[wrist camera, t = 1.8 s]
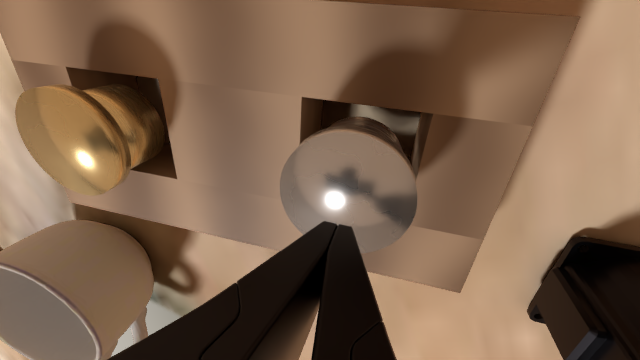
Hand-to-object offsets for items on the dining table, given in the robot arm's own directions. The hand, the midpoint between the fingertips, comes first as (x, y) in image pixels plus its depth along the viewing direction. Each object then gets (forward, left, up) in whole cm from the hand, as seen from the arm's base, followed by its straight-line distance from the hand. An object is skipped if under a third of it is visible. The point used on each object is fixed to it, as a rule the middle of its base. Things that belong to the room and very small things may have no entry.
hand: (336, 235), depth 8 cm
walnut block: (+6, 0, -9) cm, 11 cm away
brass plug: (+12, 0, -5) cm, 13 cm away
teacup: (+20, +16, -9) cm, 27 cm away
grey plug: (0, 0, -5) cm, 5 cm away
